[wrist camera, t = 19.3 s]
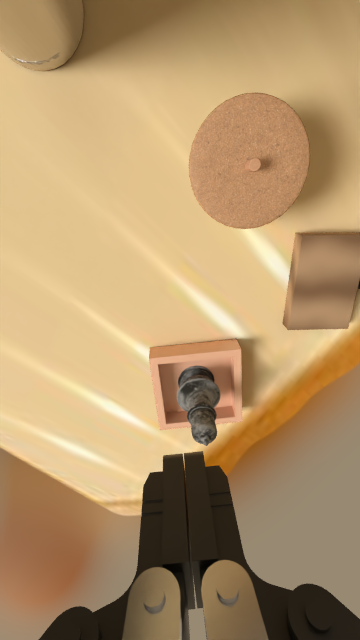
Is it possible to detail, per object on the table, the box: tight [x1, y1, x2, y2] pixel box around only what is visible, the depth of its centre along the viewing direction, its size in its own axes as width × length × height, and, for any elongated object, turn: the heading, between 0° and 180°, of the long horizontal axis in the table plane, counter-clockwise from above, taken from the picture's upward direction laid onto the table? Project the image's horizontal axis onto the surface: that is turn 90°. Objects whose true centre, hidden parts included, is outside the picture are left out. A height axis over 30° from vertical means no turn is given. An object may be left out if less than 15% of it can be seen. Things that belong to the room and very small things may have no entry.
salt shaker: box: [177, 366, 221, 446], centre depth 38 cm, size 6×6×12 cm
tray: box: [149, 339, 242, 430], centre depth 43 cm, size 12×12×3 cm
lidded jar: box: [189, 93, 310, 229], centre depth 30 cm, size 11×11×9 cm
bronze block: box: [283, 232, 360, 330], centre depth 39 cm, size 12×8×2 cm, turn 0°
